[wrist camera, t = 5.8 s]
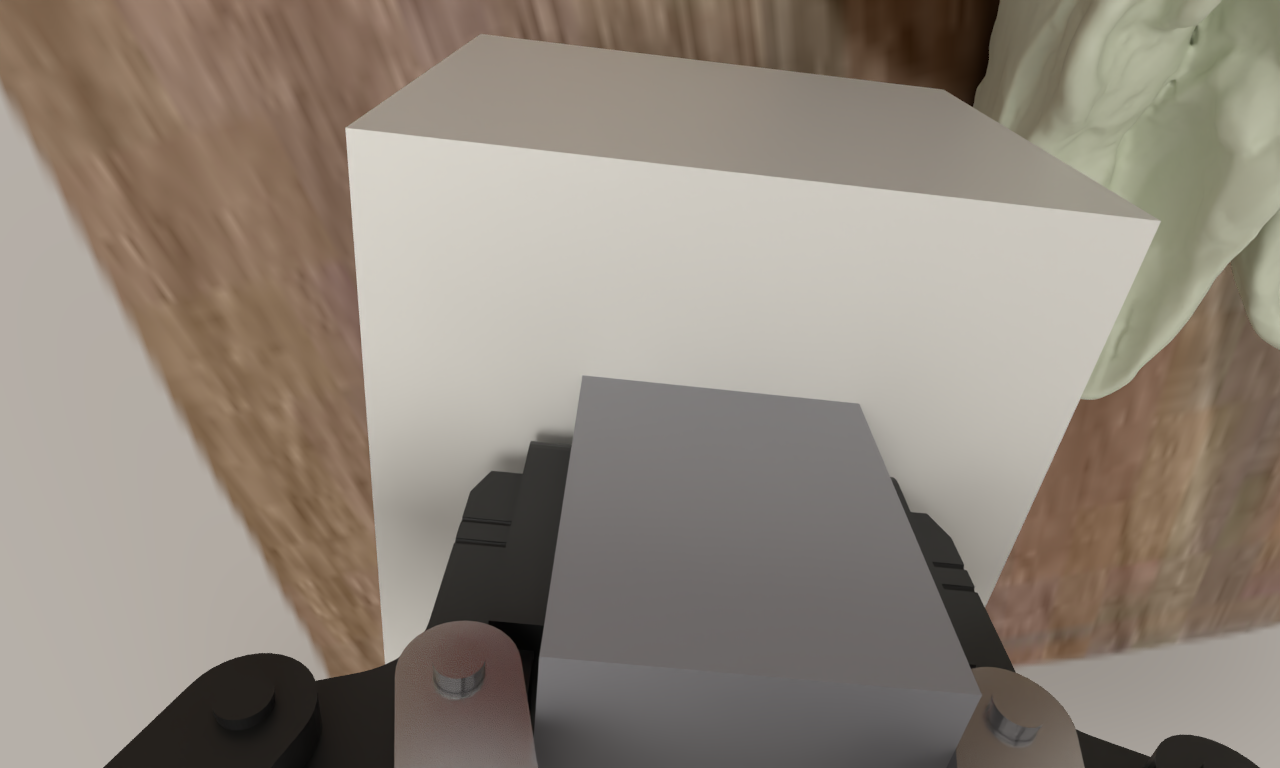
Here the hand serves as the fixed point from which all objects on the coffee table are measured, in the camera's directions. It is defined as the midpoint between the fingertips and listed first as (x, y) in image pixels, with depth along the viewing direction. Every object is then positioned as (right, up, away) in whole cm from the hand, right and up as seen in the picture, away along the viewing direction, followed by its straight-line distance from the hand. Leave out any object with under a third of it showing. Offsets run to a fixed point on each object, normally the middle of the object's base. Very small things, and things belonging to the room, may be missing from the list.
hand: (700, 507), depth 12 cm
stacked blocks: (0, +5, +8) cm, 9 cm away
